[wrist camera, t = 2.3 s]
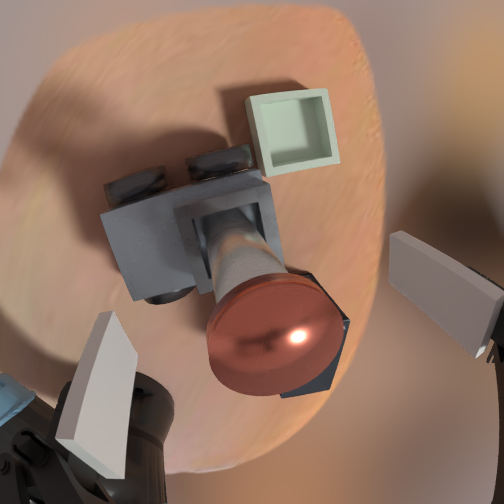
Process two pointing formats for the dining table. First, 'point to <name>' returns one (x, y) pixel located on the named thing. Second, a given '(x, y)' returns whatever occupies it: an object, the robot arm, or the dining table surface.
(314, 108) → the tray
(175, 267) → the trolley
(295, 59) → the dining table surface
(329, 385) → the small box
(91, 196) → the dining table surface
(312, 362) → the pin
